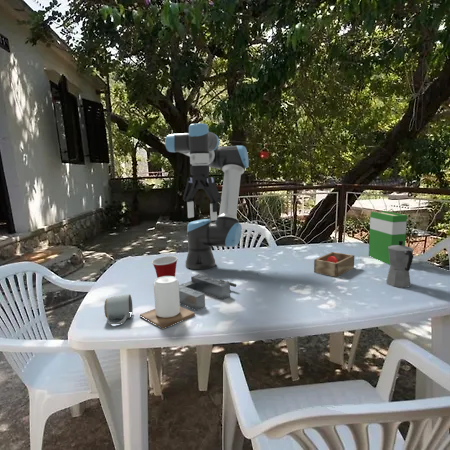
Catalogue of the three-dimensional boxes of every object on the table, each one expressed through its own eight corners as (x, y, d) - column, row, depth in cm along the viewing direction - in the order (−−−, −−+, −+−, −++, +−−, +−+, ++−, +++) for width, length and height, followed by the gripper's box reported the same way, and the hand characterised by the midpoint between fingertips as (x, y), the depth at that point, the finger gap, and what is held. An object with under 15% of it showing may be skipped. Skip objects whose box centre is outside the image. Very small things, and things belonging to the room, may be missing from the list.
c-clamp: (165, 297, 129) (164, 285, 128) (207, 282, 145) (207, 271, 144) (196, 310, 116) (196, 296, 115) (239, 292, 132) (239, 280, 131)
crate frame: (314, 272, 154) (314, 259, 153) (332, 263, 167) (332, 251, 166) (336, 277, 146) (337, 263, 145) (353, 267, 159) (354, 255, 158)
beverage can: (159, 321, 106) (157, 285, 104) (152, 311, 113) (150, 278, 111) (183, 315, 110) (181, 280, 108) (175, 306, 117) (173, 274, 115)
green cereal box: (368, 255, 179) (370, 211, 175) (381, 255, 180) (383, 210, 176) (390, 265, 162) (393, 216, 158) (403, 263, 163) (407, 215, 159)
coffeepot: (379, 278, 143) (381, 237, 140) (401, 278, 143) (404, 237, 140) (397, 291, 128) (400, 246, 125) (422, 291, 128) (425, 245, 125)
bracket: (344, 274, 152) (344, 257, 150) (336, 275, 150) (336, 258, 149) (326, 267, 163) (327, 251, 161) (319, 268, 161) (319, 252, 160)
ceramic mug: (109, 313, 115) (106, 293, 114) (133, 311, 116) (131, 290, 115) (102, 328, 105) (100, 305, 103) (129, 326, 106) (127, 303, 105)
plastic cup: (150, 284, 143) (149, 257, 141) (175, 280, 147) (174, 254, 145) (156, 293, 133) (154, 264, 131) (182, 288, 138) (180, 260, 136)
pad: (140, 317, 112) (139, 314, 112) (171, 305, 121) (171, 302, 121) (162, 329, 103) (162, 326, 103) (194, 315, 112) (194, 312, 112)
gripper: (172, 165, 136) (175, 217, 140) (215, 164, 119) (217, 222, 122) (186, 165, 141) (189, 215, 145) (229, 164, 124) (231, 220, 128)
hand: (202, 218), depth 134 cm, fingers open, 13 cm apart
